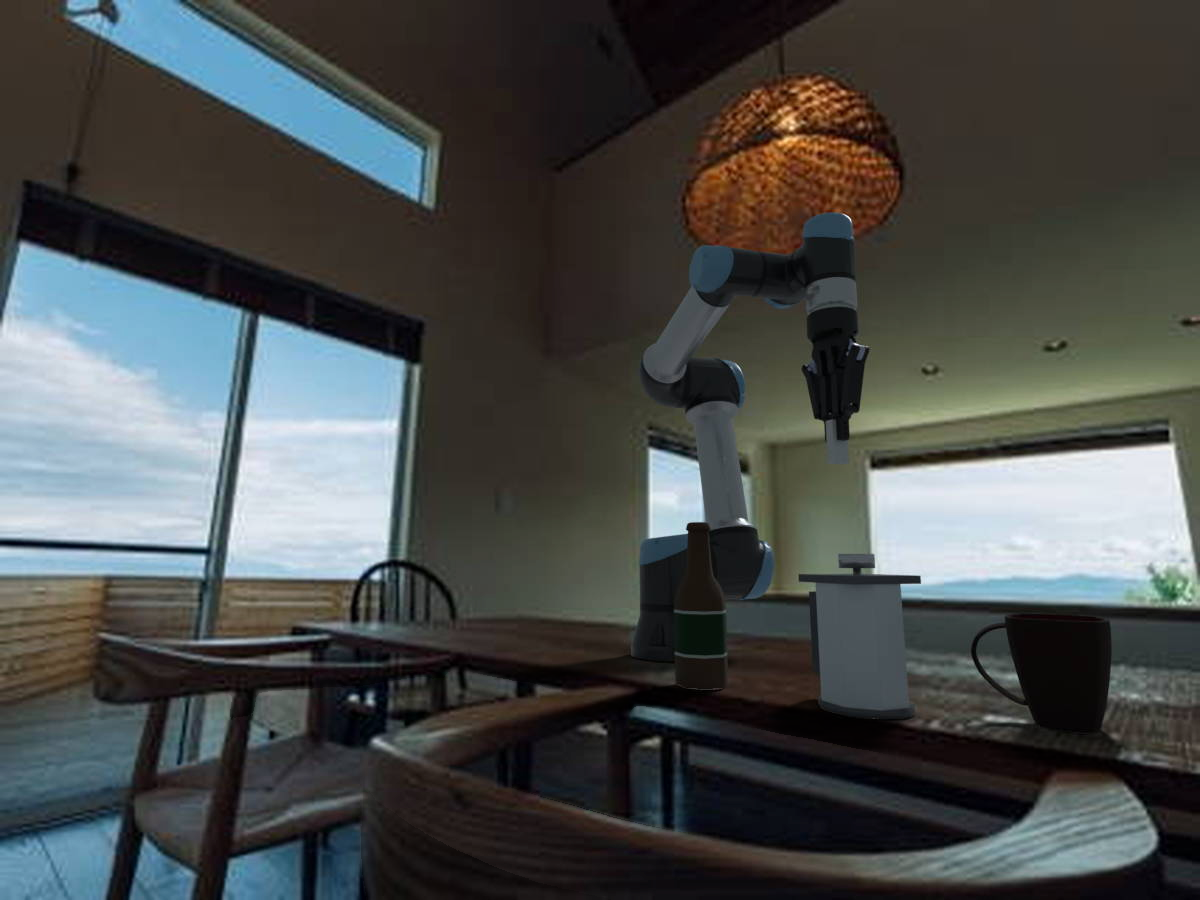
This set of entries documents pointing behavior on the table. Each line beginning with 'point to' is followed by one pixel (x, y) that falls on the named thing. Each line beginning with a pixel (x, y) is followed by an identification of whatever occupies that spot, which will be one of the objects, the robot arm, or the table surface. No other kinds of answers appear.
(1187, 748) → the table surface
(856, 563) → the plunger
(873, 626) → the grey capped canister
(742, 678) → the table surface
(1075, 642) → the cup
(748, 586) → the robot arm
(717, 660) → the beer bottle
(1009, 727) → the table surface
